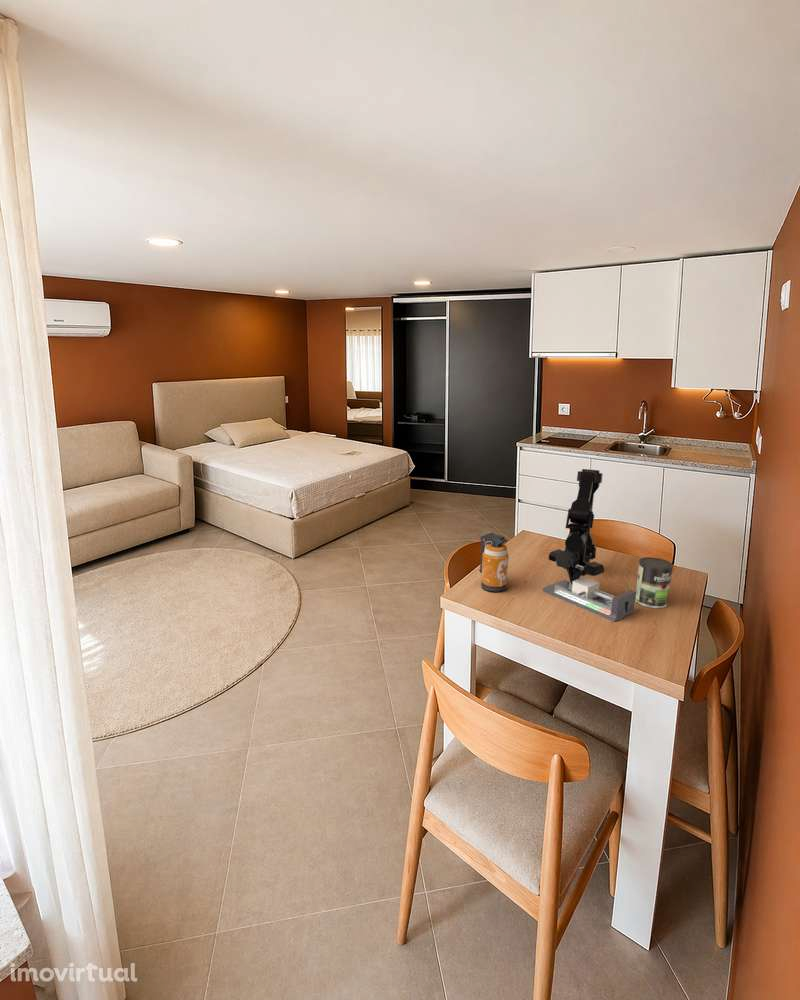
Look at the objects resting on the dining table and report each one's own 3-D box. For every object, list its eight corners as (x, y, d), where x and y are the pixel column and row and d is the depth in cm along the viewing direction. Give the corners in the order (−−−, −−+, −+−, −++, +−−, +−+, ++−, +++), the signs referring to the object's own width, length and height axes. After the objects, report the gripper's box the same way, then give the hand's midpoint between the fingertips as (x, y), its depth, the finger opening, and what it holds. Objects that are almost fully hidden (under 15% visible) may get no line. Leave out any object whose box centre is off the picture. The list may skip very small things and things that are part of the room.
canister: (495, 595, 188) (498, 540, 183) (471, 585, 196) (473, 532, 191) (511, 588, 194) (515, 535, 188) (488, 578, 202) (490, 527, 196)
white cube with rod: (582, 590, 189) (584, 576, 188) (622, 606, 177) (624, 591, 176) (565, 597, 184) (567, 583, 182) (605, 613, 172) (607, 599, 171)
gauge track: (563, 582, 199) (565, 564, 197) (635, 611, 177) (637, 591, 175) (542, 590, 192) (543, 571, 190) (614, 621, 170) (616, 600, 168)
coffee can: (674, 606, 181) (680, 566, 177) (648, 610, 178) (653, 570, 174) (652, 593, 190) (658, 555, 186) (627, 596, 188) (632, 558, 184)
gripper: (539, 539, 186) (536, 581, 191) (586, 555, 172) (581, 601, 176) (560, 533, 193) (556, 574, 197) (607, 548, 178) (602, 592, 182)
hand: (573, 585), depth 188 cm, fingers closed
